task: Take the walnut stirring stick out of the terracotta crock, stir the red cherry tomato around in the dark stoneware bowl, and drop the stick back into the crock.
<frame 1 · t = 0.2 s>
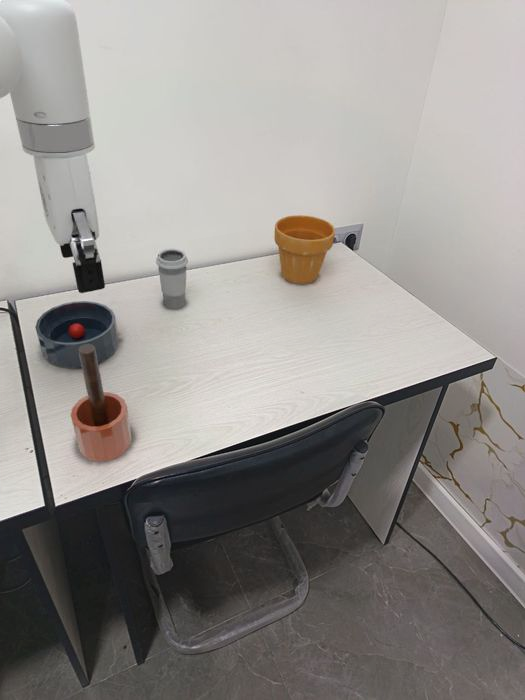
hand: (82, 271, 65), 28 cm above the table, tool pointing down, fingers open, 9 cm apart
flower pot: (299, 276, 124), on the table
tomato: (78, 337, 98), point 1 cm above the table, touching bowl
cup: (174, 304, 111), on the table
bowl: (81, 346, 97), on the table
holder: (105, 441, 79), on the table
stick: (104, 438, 78), point 1 cm above the table, touching holder
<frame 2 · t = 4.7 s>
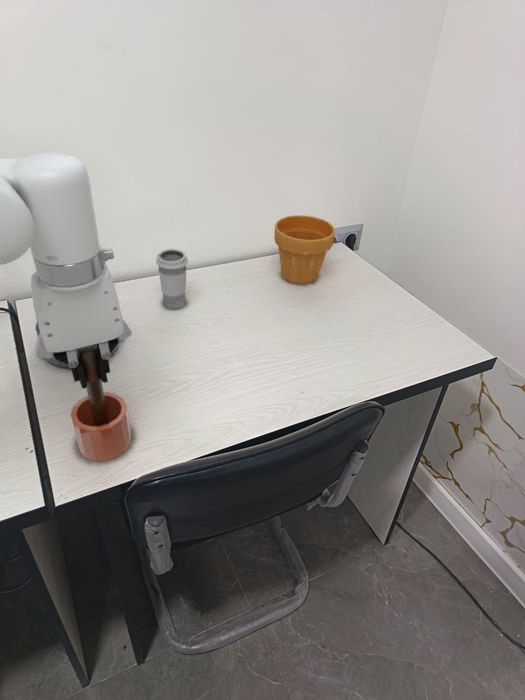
hand: (92, 378, 70), 13 cm above the table, tool pointing down, fingers closed on stick, 2 cm apart
stick: (104, 438, 78), point 1 cm above the table, touching gripper, holder
everything else where it was.
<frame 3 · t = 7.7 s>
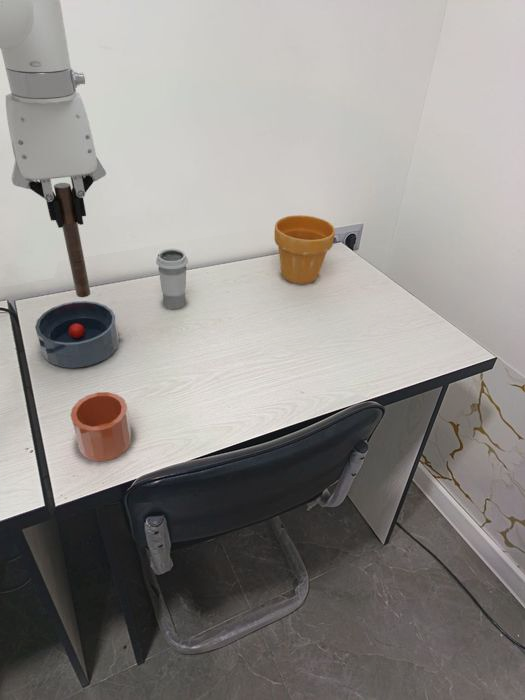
hand: (69, 221, 73), 29 cm above the table, tool pointing down, fingers closed on stick
stick: (83, 293, 81), point 17 cm above the table, touching gripper
everything else where it was.
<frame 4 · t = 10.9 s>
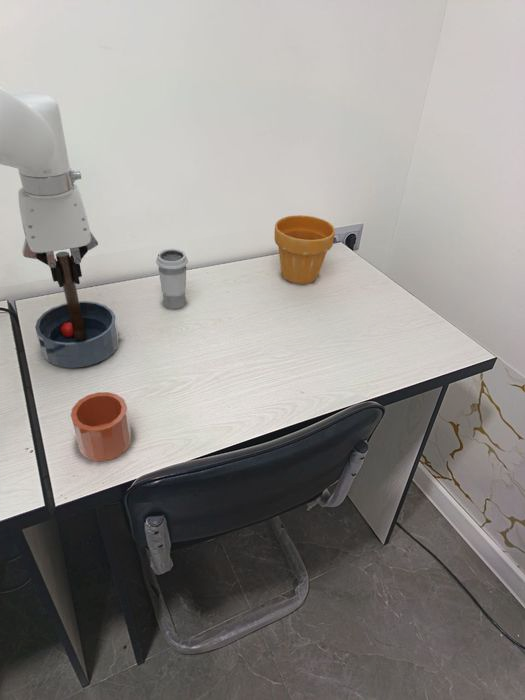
hand: (68, 281, 90), 14 cm above the table, tool pointing down, fingers closed on stick, 2 cm apart
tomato: (74, 335, 98), point 1 cm above the table, tilted 55°, touching bowl, stick
stick: (80, 337, 97), point 1 cm above the table, touching gripper, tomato
everything else where it was.
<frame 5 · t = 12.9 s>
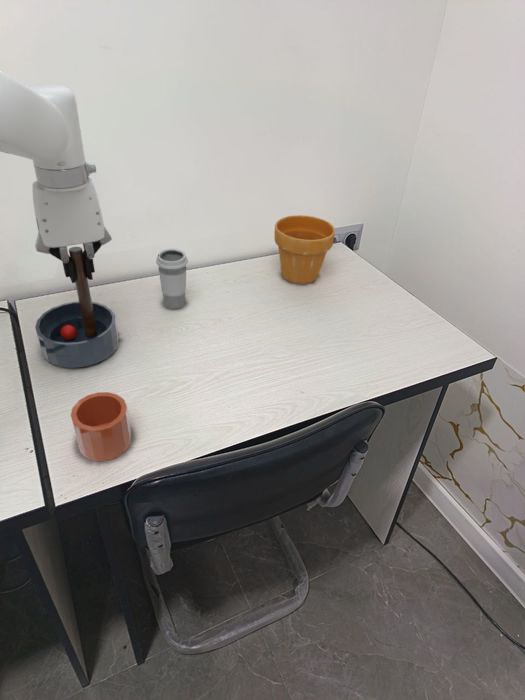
hand: (80, 277, 88), 15 cm above the table, tool pointing down, fingers closed on stick, 2 cm apart
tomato: (70, 340, 97), point 1 cm above the table, tilted 32°, touching bowl
stick: (91, 335, 96), point 3 cm above the table, touching gripper
everything else where it was.
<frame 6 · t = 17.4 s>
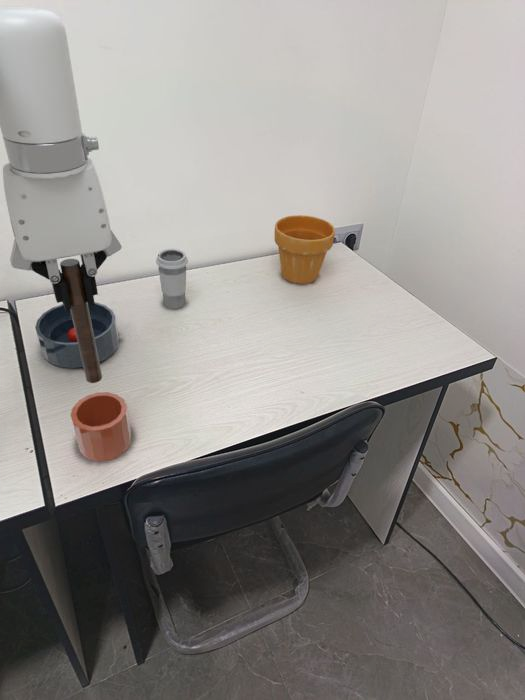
hand: (77, 301, 62), 26 cm above the table, tool pointing down, fingers closed on stick
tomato: (70, 339, 97), point 1 cm above the table, tilted 49°, touching bowl
stick: (94, 378, 70), point 14 cm above the table, touching gripper
everything else where it was.
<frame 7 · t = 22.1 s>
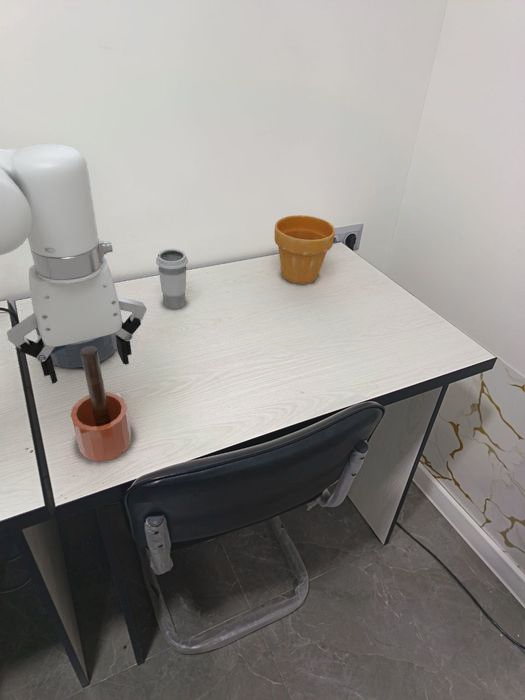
hand: (89, 367, 69), 15 cm above the table, tool pointing down, fingers open, 9 cm apart
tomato: (76, 335, 95), point 3 cm above the table, tilted 115°, touching bowl
stick: (106, 440, 78), point 1 cm above the table, touching holder
everything else where it was.
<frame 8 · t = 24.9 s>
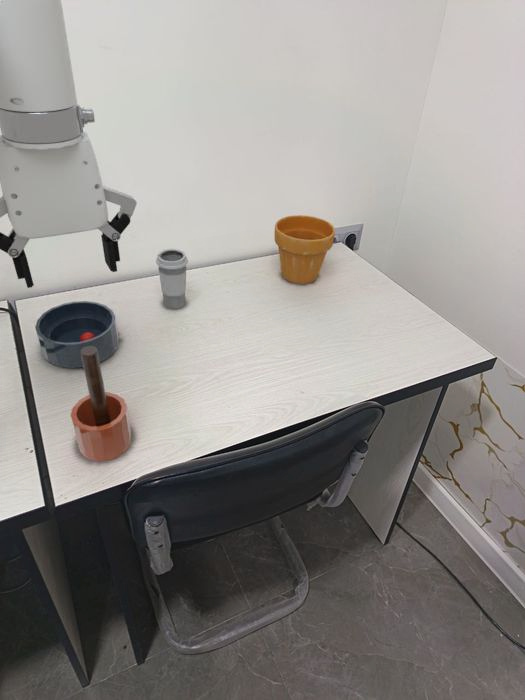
hand: (71, 274, 60), 30 cm above the table, tool pointing down, fingers open, 9 cm apart
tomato: (83, 335, 94), point 3 cm above the table, tilted 151°, touching bowl
everything else where it was.
at the end: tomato moved 4.9 cm from its start; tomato inside the target area in the bowl (1.6 cm from its centre), point 3.4 cm above the bowl's base; stick 0.5 cm off-centre in the holder, point 0.8 cm above the holder's base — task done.
